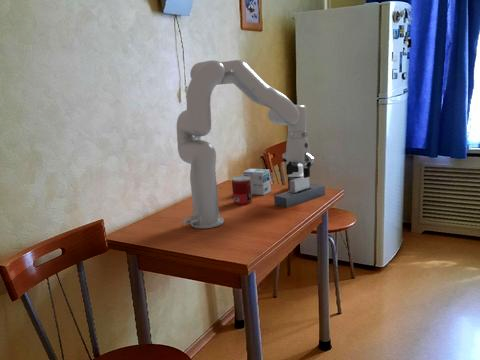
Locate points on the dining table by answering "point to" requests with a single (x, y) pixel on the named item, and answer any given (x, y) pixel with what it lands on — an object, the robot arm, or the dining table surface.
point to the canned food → (241, 190)
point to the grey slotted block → (299, 196)
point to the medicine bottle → (295, 173)
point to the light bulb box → (259, 180)
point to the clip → (299, 185)
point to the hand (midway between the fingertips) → (298, 175)
